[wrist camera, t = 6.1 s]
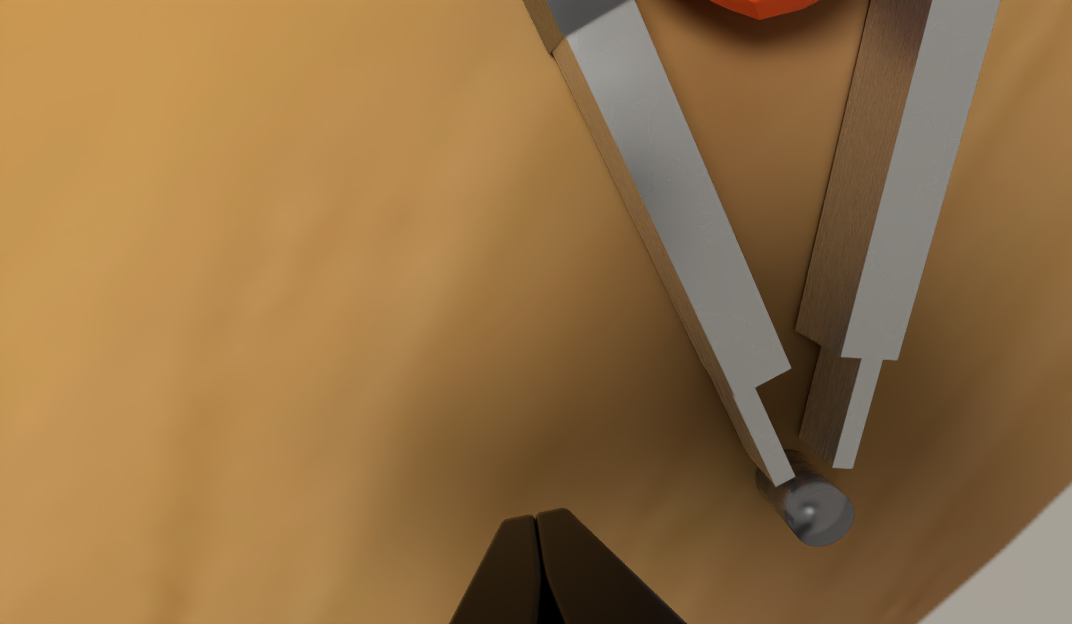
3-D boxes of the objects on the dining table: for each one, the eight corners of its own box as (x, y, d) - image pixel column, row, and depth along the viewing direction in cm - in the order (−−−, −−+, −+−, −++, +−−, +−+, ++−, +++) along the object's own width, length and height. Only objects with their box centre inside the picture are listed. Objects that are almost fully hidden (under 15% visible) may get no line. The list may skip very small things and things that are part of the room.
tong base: (802, 499, 21) (850, 552, 18) (750, 498, 21) (792, 551, 18) (984, -211, 15) (1095, -288, 12) (915, -224, 15) (1013, -307, 12)
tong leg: (794, 429, 20) (841, 472, 17) (743, 456, 20) (782, 502, 18) (537, -154, 14) (549, -219, 12) (467, -113, 15) (466, -169, 12)
